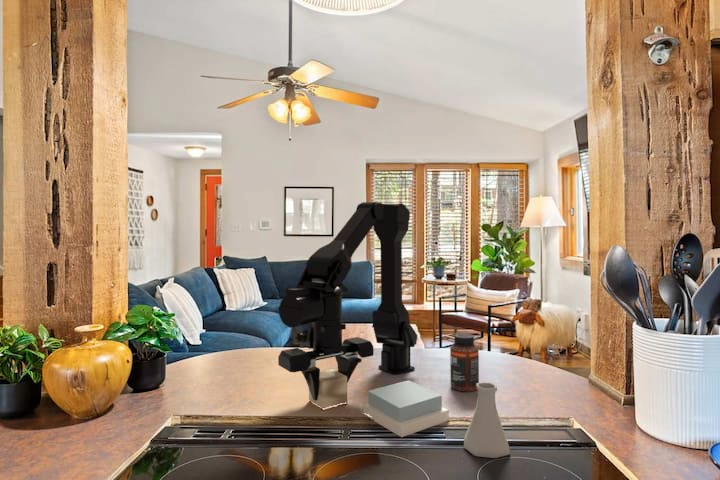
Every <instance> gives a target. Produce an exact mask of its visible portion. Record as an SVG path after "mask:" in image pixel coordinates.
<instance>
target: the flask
mask: <svg viewBox="0 0 720 480" xmlns="http://www.w3.org/2000/svg"><path fill="white" fill-rule="evenodd" d="M476 386H477V389H476V390H477V394H478V396H477V401H476V407H475V410H474V412H473V415H472V418H471V421H470V423H469V426H468V428H467V431H466V433H465V436H464V438H463V448H464V449H465V450H467V451H468V452H469V453H471V454H472V456H474V457H482V458H491V459H497V458H501V457H505V456H509V455H511V452H510V445H509V442H508V438H507V436H506V433H505V431H504V428H503V424H502V422H501V418H500V416H499V412H498V410H497V405H496V404H497V403H496V392H497V390H498V386H497V384H495V383H493V382H487V381H486V382H485V381H481V382H479V383H477V384H476Z"/></svg>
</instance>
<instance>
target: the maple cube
mask: <svg viewBox="0 0 720 480" xmlns="http://www.w3.org/2000/svg"><path fill="white" fill-rule="evenodd" d="M309 400H310V401H312V402H313V403H315V404H317V405H318V406H320V407H321V408H326V407H329V406H333V405H337V404H340V403H345V402H347V403H348V383H347V376H346V375H344V374H342V373H340V372H338V370H335V369H333V368H330V369H326V370H320V376H319V392H318V398H317V400H316V401H315V400H314V399H313V398H312V395H311V392H310V390H309V389H308V401H309Z"/></svg>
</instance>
